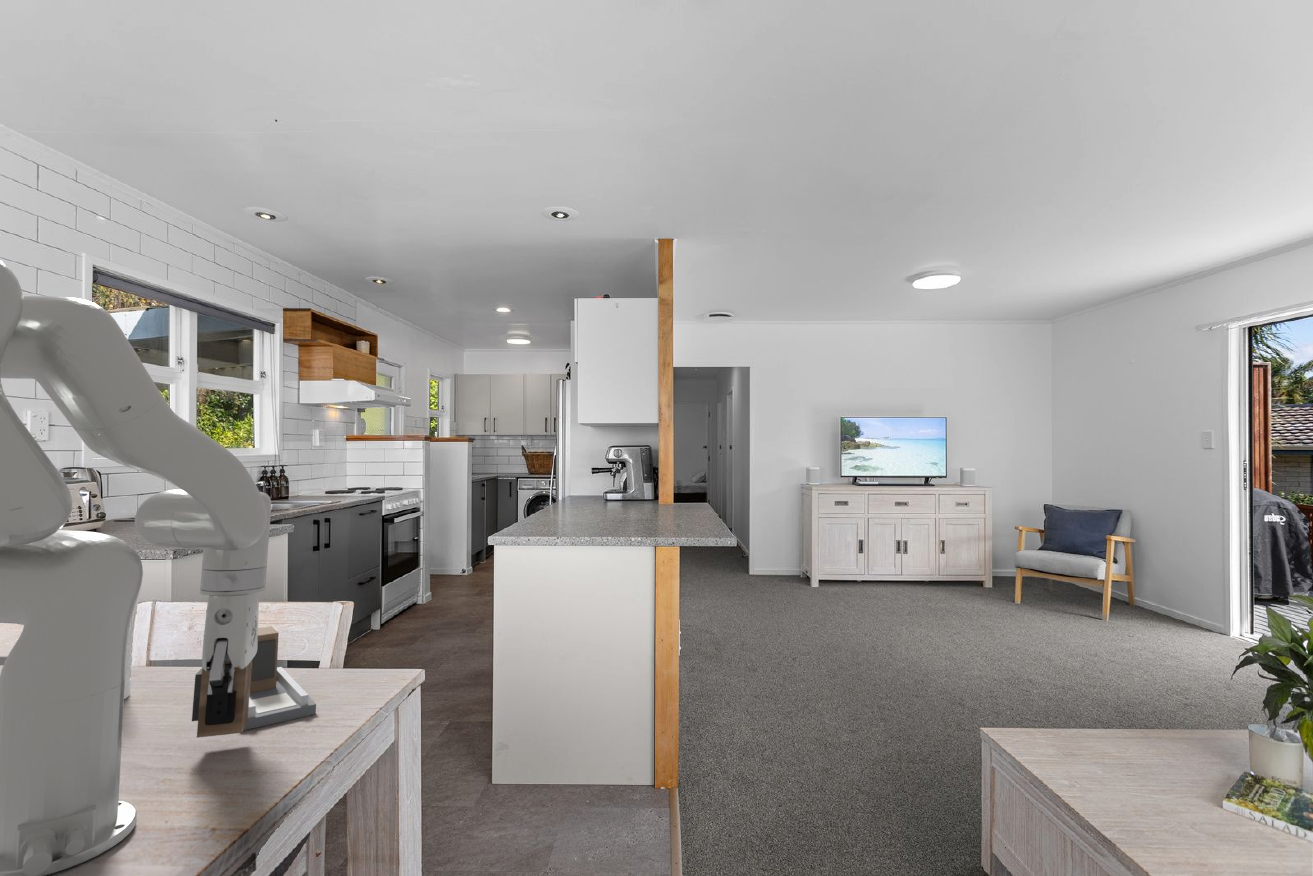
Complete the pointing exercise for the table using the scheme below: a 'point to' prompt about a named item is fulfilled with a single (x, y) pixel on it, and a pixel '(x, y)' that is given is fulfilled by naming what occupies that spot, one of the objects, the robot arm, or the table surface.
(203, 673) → the walnut finger
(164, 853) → the table surface
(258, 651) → the frame
